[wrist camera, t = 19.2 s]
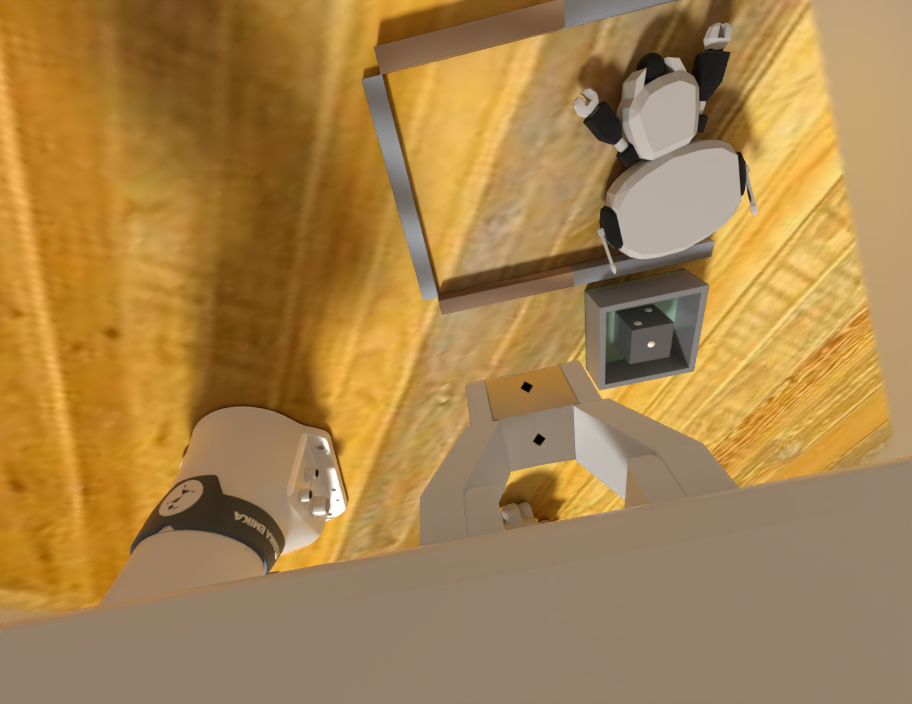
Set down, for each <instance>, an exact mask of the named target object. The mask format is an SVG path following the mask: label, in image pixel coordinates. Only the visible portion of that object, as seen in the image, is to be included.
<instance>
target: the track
mask: <svg viewBox="0 0 912 704" xmlns="http://www.w3.org/2000/svg"><path fill="white" fill-rule="evenodd" d="M673 1H677V0H554V1H550V2H546V3H543V4H539V5H535V6H531V7H527V8H523V9H519V10H515V11H511V12H507V13H504V14H500V15H496V16H492V17H488V18H484V19H480V20H476V21H472V22H468V23H465V24H461V25H457V26H453V27H449V28H445V29H441V30H437V31H433V32H429V33H426V34H422V35H418V36H414V37H410V38H406V39H402V40H398V41H394V42H390V43H387V44H383V45H379V46H375V47H374V50H375V54H376V58H377V61H378V65H379V69H380V73H381V75H377V76H373V77H369V78H365V79H362V82H363V86H364V90H365V93H366V97H367V100H368V104H369V108H370V111H371V115H372V118H373V122H374V125H375V129H376V133H377V136H378V140H379V143H380V147H381V151H382V154H383V158H384V161H385V165H386V168H387V172H388V176H389V179H390V183H391V186H392V190H393V194H394V197H395V201H396V204H397V208H398V211H399V215H400V219H401V222H402V226H403V229H404V233H405V237H406V240H407V244H408V247H409V251H410V254H411V258H412V262H413V265H414V269H415V272H416V276H417V280H418V283H419V287H420V290H421V294H422V297H423V300H428V299H432V298H437V297H438V300H439V305H440V309H441V313H442V315H443V314H448V313H453V312H457V311H462V310H466V309H471V308H476V307H480V306H485V305H490V304H494V303H499V302H503V301H508V300H513V299H517V298H522V297H526V296H531V295H536V294H540V293H545V292H550V291H554V290H559V289H563V288H568V287H573V286H577V285H582V284H586V283H591V282H596V281H600V280H605V279H610V278H614V277H619V276H623V275H628V274H633V273H637V272H642V271H647V270H651V269H656V268H660V267H665V266H670V265H674V264H679V263H683V262H688V261H693V260H697V259H702V258H707V257H711V255H712V250H713V244H714V241H713V240H711V239H709V238H705V239H703V240H701V241H700V242H698V243H696V244H694V245H693V246H691V247H689V248H687V249H685V250H684V251H680V252H676V253H673V254H669V255H665V256H662V257H657V258H650V259H638V258H633V257H629V256H627V255H626V254H621V255H616V256H612V257H611V258H612V261H613V264H614V265H615V268H616V274H614V273H613V272H612V270H611V267H610V266H611V265H610V262H609V259H608V257H607V258H603V259H598V260H593V261H589V262H584V263H580V264H575V265H571V266H566V267H562V268H557V269H552V270H548V271H543V272H539V273H534V274H530V275H525V276H521V277H516V278H511V279H507V280H502V281H498V282H493V283H489V284H484V285H480V286H475V287H470V288H466V289H461V290H457V291H452V292H448V293H443V294H439V295H438V292H437V288H436V284H435V280H434V276H433V272H432V269H431V265H430V261H429V257H428V253H427V249H426V245H425V241H424V237H423V233H422V229H421V225H420V221H419V217H418V213H417V209H416V205H415V201H414V197H413V193H412V189H411V185H410V182H409V178H408V174H407V170H406V166H405V162H404V158H403V154H402V150H401V146H400V142H399V138H398V134H397V130H396V126H395V122H394V118H393V114H392V110H391V106H390V102H389V99H388V95H387V91H386V87H385V83H384V79H383V74H387V73H391V72H395V71H399V70H403V69H407V68H411V67H415V66H419V65H423V64H427V63H431V62H435V61H439V60H443V59H447V58H451V57H455V56H459V55H463V54H467V53H471V52H475V51H479V50H483V49H487V48H490V47H494V46H498V45H502V44H506V43H510V42H514V41H518V40H522V39H526V38H530V37H534V36H538V35H542V34H546V33H550V32H554V31H558V30H562V29H566V28H570V27H574V26H578V25H582V24H586V23H590V22H594V21H598V20H602V19H605V18H609V17H613V16H617V15H621V14H625V13H629V12H633V11H637V10H641V9H645V8H649V7H653V6H657V5H661V4H665V3H669V2H673Z"/></svg>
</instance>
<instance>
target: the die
mask: <svg viewBox="0 0 912 704" xmlns="http://www.w3.org/2000/svg"><path fill="white" fill-rule="evenodd" d="M673 329H674V322H673V321H672V320H671V319H670V318H669V317H668V316H666V315H665V314H664V313H663V312H662V311H661V310H660V309H659V308H657V307H656V306H655V305H654V304H650V305H645V306H640V307H635V308H630V309H625V310H620V311H615V316H614V336H613V344H614V345H615V346H616V348H617V349H618V350H619V352H620V353H621V354H622V355H623V357H624V358H625V359H626V361H627V362H628V363H629V364H634V363H639V362H644V361H650V360H655V359H660V358H666V357H669V355H670V349H671V342H672V336H673Z"/></svg>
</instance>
